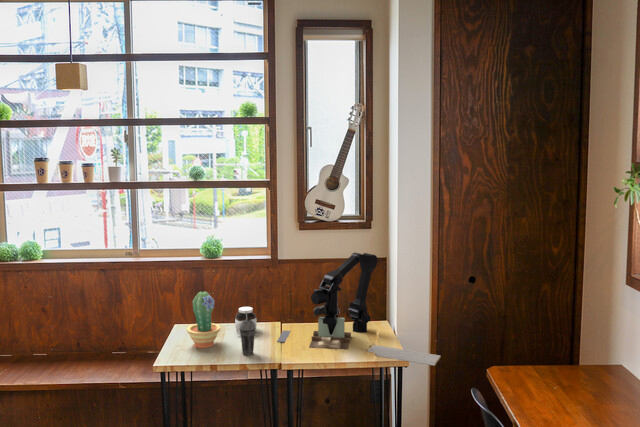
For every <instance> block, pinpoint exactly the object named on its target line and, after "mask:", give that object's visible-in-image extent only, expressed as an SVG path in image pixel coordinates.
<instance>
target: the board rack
mask: <svg viewBox="0 0 640 427" xmlns="http://www.w3.org/2000/svg"><path fill="white" fill-rule="evenodd" d="M351 338H352V332H350V331H348V332H347V331H344V338H338V337H331V340H339V342H340V343H341V345H340V348H328V347H318V343H319V342H321V339H322V337H318V330H313V334H312V335H311V341H310V343H309V345H308V349H328V350H346V351H348V350H349V349H350V344H351Z"/></svg>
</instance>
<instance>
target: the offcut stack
mask: <svg viewBox="0 0 640 427" xmlns="http://www.w3.org/2000/svg"><path fill="white" fill-rule="evenodd" d="M340 345H341V343H340V342H339V340H331V337H322V339H321V342H319V343H318V347H328V348H340Z"/></svg>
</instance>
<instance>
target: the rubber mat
mask: <svg viewBox="0 0 640 427" xmlns="http://www.w3.org/2000/svg"><path fill="white" fill-rule="evenodd" d="M290 333H291V330H282V332H281V334H280V335H279V336H278V339H277V341H276V343H277V342H280V343H279V344H282V343H283V344H285V343H286V341H287V339H288V337H289V335H290Z"/></svg>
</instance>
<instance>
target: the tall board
mask: <svg viewBox="0 0 640 427" xmlns="http://www.w3.org/2000/svg"><path fill="white" fill-rule="evenodd" d="M324 317H325V316H318V321H317V322H318V324H317V325H318V326H317V327H318V329H317V331H318V337H338V338H344V332H345V323H346V322H345V320H346V319H345V317H338V318H337V323H336V326H335V328H334V331H333V333H332V335H330V333H329V329H328V325H327V324H323V318H324Z"/></svg>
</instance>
